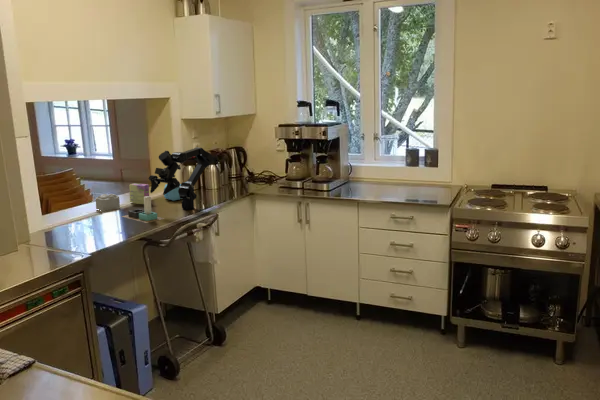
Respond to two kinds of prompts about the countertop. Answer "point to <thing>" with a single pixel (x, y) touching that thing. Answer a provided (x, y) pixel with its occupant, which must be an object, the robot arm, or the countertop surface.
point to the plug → (147, 205)
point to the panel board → (135, 215)
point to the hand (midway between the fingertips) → (157, 193)
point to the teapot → (172, 194)
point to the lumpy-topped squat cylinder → (107, 202)
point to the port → (148, 216)
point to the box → (138, 192)
